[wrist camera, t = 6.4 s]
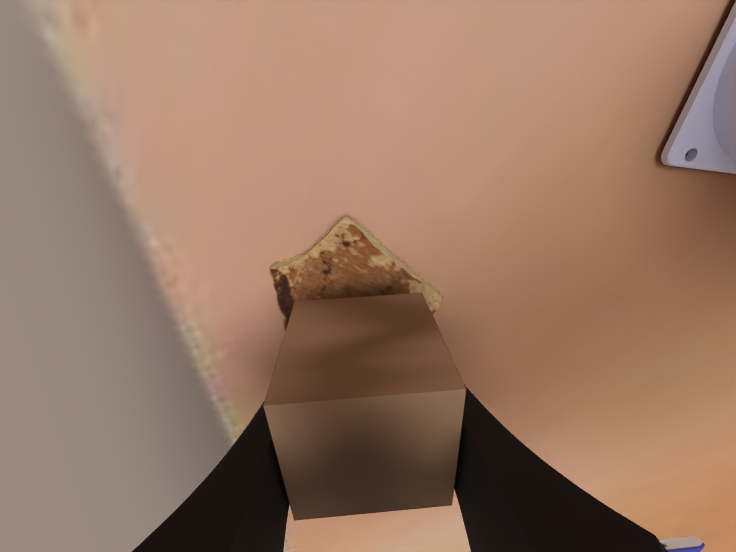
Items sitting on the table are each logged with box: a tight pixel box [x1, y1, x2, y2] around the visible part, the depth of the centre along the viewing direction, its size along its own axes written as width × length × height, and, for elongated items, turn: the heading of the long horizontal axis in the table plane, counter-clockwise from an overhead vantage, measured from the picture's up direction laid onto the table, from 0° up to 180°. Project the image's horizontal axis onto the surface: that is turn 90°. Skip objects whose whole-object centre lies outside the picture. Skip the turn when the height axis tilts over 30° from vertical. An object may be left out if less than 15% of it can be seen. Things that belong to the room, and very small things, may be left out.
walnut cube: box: [263, 293, 466, 520], centre depth 11 cm, size 5×5×5 cm
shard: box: [270, 217, 443, 332], centre depth 16 cm, size 11×8×2 cm
